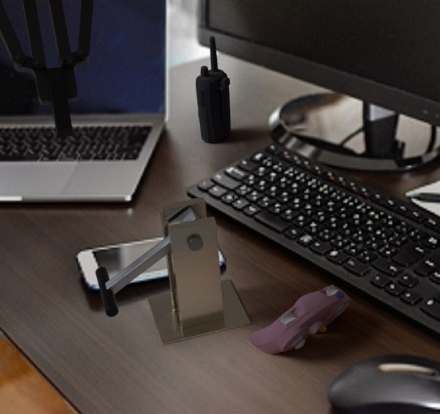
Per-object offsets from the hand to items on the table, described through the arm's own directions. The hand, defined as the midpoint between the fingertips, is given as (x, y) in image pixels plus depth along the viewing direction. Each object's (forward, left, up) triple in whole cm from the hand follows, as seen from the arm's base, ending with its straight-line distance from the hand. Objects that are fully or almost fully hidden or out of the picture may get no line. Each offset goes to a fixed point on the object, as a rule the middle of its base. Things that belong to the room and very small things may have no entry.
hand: (64, 133), depth 84 cm
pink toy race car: (+18, -19, -18) cm, 32 cm away
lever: (+6, -12, -10) cm, 17 cm away
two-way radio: (+22, +28, -18) cm, 40 cm away
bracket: (+9, -12, -18) cm, 23 cm away
